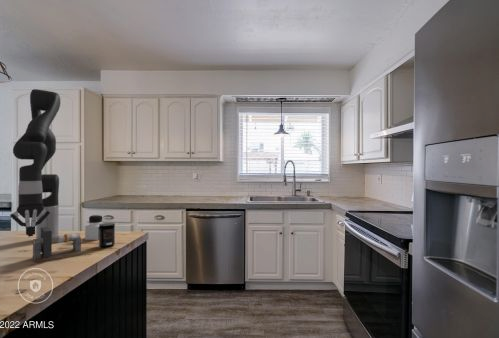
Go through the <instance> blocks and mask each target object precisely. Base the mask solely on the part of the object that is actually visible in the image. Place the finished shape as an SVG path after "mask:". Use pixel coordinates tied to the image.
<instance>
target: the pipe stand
mask: <svg viewBox="0 0 499 338" xmlns="http://www.w3.org/2000/svg"><path fill="white" fill-rule="evenodd" d="M69 242H72V248H68V249H62V250H55V251H52V256H48V257H44V256H43V254H42V253H41V246H43V238H39V239H36V238H34V239H33V242H32V260H33V263H34V264H38V263H44V262H50V261H53V260H59V259H65V258H71V257H77V256H82V255H83V254H82V253H83V252H82V237H81V233H80V232H77V233H71V234H62V235H58V236H54V237H52V245H57V244H66V243H69Z"/></svg>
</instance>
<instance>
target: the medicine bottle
mask: <svg viewBox="0 0 499 338" xmlns="http://www.w3.org/2000/svg"><path fill="white" fill-rule="evenodd" d="M99 224H103V215H100V214H93V215H90V216H89V218H88V224H86V226H84V232H85V233H84V240H85V241H99Z"/></svg>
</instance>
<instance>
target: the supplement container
mask: <svg viewBox="0 0 499 338" xmlns="http://www.w3.org/2000/svg"><path fill="white" fill-rule="evenodd" d="M115 233H116V223H114V222H104V223H103V222H102V224H99V240H98V247H100V248H103V249H107V248H111V247H114V246H115V244H116V241H115V237H116V234H115Z"/></svg>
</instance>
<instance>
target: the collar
mask: <svg viewBox="0 0 499 338" xmlns="http://www.w3.org/2000/svg"><path fill="white" fill-rule="evenodd" d="M41 238H43V246H41V254H43V256H44V257H48V256H52V252H53V250H52V249H53V248H52V247H53V246H52V245H53V244H52V231H51V230H50V228H49V227H41Z"/></svg>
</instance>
